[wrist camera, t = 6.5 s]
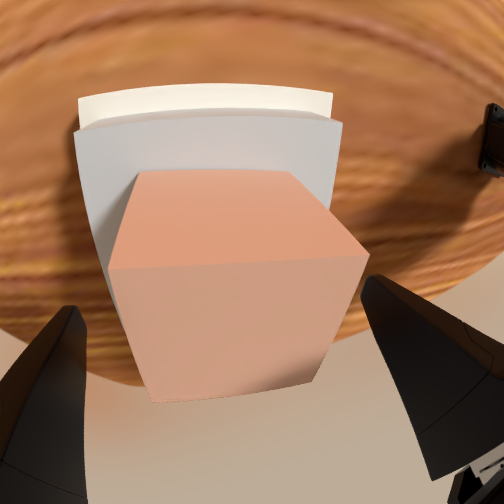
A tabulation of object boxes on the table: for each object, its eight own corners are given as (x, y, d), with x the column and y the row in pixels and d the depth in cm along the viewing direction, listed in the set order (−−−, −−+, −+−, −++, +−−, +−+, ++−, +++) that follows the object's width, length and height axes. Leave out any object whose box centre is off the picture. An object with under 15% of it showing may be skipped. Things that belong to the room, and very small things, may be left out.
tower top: (309, 111, 11) (342, 123, 9) (288, 273, 16) (307, 310, 14) (98, 119, 9) (73, 133, 7) (129, 288, 14) (124, 330, 12)
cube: (289, 171, 9) (369, 254, 6) (269, 283, 12) (311, 381, 8) (139, 171, 8) (107, 269, 4) (151, 290, 11) (152, 402, 7)
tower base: (306, 89, 13) (333, 93, 11) (286, 256, 19) (301, 284, 17) (97, 94, 11) (78, 98, 9) (123, 270, 17) (117, 302, 15)
